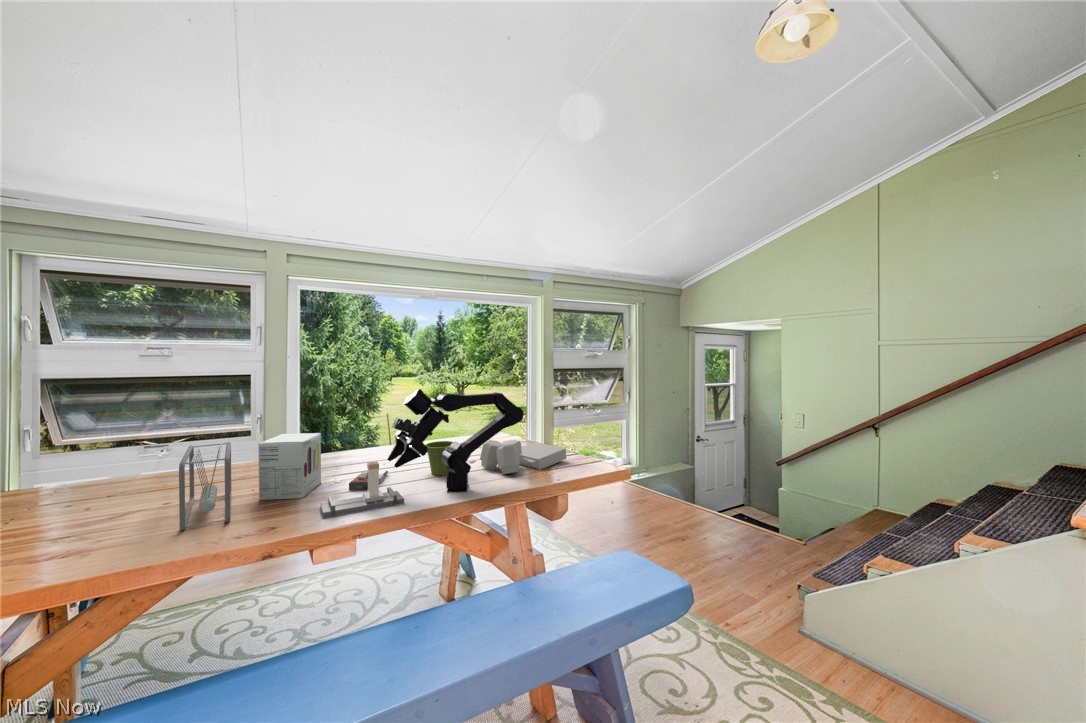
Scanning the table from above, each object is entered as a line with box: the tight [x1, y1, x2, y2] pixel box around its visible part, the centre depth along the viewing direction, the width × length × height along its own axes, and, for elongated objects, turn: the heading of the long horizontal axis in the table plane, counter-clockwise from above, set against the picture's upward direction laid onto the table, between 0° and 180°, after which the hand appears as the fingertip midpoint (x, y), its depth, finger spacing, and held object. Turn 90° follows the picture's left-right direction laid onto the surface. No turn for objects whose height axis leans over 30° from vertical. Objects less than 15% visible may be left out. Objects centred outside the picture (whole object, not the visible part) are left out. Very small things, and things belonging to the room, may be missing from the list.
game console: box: [479, 439, 567, 475], centre depth 175 cm, size 20×32×13 cm, turn 135°
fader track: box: [319, 486, 405, 519], centre depth 128 cm, size 22×9×3 cm, turn 122°
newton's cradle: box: [178, 441, 232, 531], centre depth 124 cm, size 30×10×18 cm, turn 36°
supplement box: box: [258, 432, 322, 501], centre depth 142 cm, size 17×13×18 cm
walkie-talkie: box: [348, 470, 389, 492], centre depth 152 cm, size 9×4×20 cm
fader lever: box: [362, 461, 384, 503], centre depth 130 cm, size 5×6×11 cm
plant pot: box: [424, 440, 454, 476], centre depth 164 cm, size 12×12×11 cm
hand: (391, 463), depth 132 cm, fingers open, 9 cm apart
